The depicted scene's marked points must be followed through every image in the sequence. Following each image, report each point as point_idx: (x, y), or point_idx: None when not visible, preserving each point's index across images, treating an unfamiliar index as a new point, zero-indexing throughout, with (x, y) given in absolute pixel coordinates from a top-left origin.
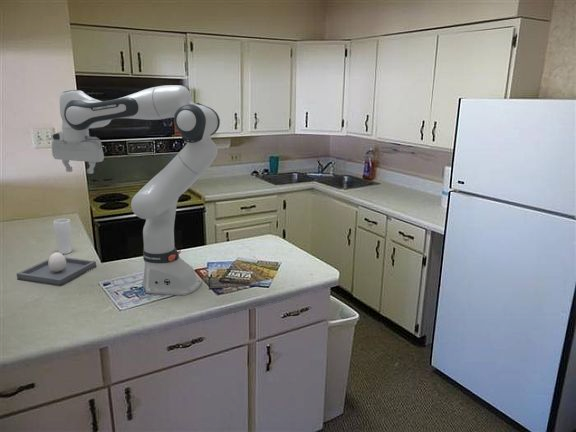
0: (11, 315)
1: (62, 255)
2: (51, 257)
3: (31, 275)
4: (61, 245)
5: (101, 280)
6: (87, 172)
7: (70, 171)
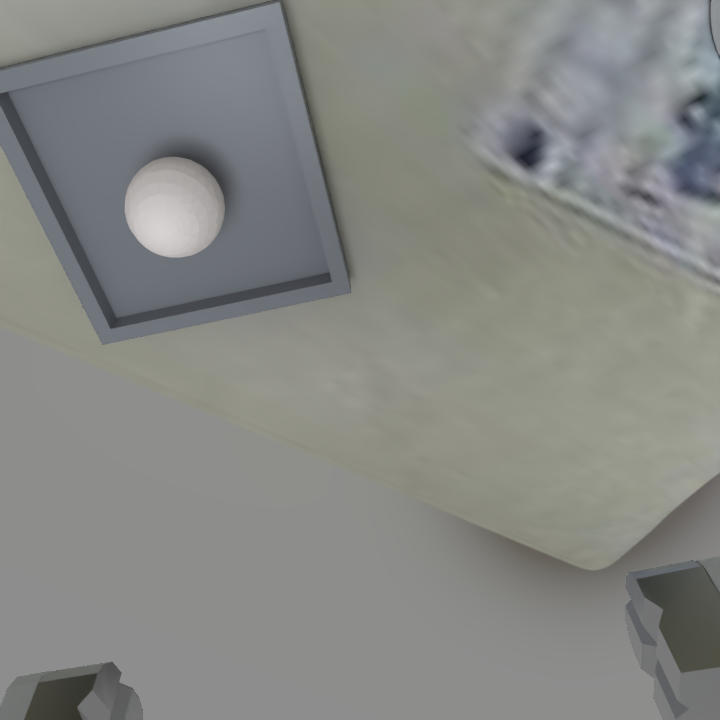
0: (410, 480)
1: (191, 201)
2: (173, 255)
3: (184, 324)
4: None
5: (469, 131)
6: (640, 652)
7: (130, 696)
